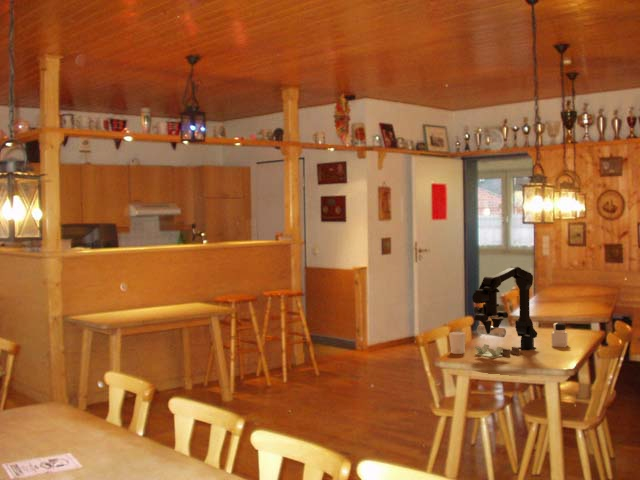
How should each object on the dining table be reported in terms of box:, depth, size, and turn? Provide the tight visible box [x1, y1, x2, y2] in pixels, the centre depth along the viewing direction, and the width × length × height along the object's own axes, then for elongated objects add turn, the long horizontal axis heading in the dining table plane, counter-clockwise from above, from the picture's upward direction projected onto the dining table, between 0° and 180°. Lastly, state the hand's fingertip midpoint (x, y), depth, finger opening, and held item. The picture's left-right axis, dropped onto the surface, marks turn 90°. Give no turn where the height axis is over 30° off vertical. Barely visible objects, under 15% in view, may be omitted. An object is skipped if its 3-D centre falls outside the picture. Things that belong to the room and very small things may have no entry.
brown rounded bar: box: [476, 324, 507, 338], centre depth 376 cm, size 15×4×4 cm, turn 35°
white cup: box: [449, 331, 466, 355], centre depth 386 cm, size 8×8×10 cm
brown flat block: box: [500, 346, 520, 357], centre depth 379 cm, size 8×8×4 cm
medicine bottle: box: [551, 322, 568, 348], centre depth 398 cm, size 7×7×12 cm
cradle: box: [474, 344, 504, 359], centre depth 378 cm, size 8×12×4 cm, turn 34°
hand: (491, 333), depth 376 cm, fingers closed on brown rounded bar, 4 cm apart
